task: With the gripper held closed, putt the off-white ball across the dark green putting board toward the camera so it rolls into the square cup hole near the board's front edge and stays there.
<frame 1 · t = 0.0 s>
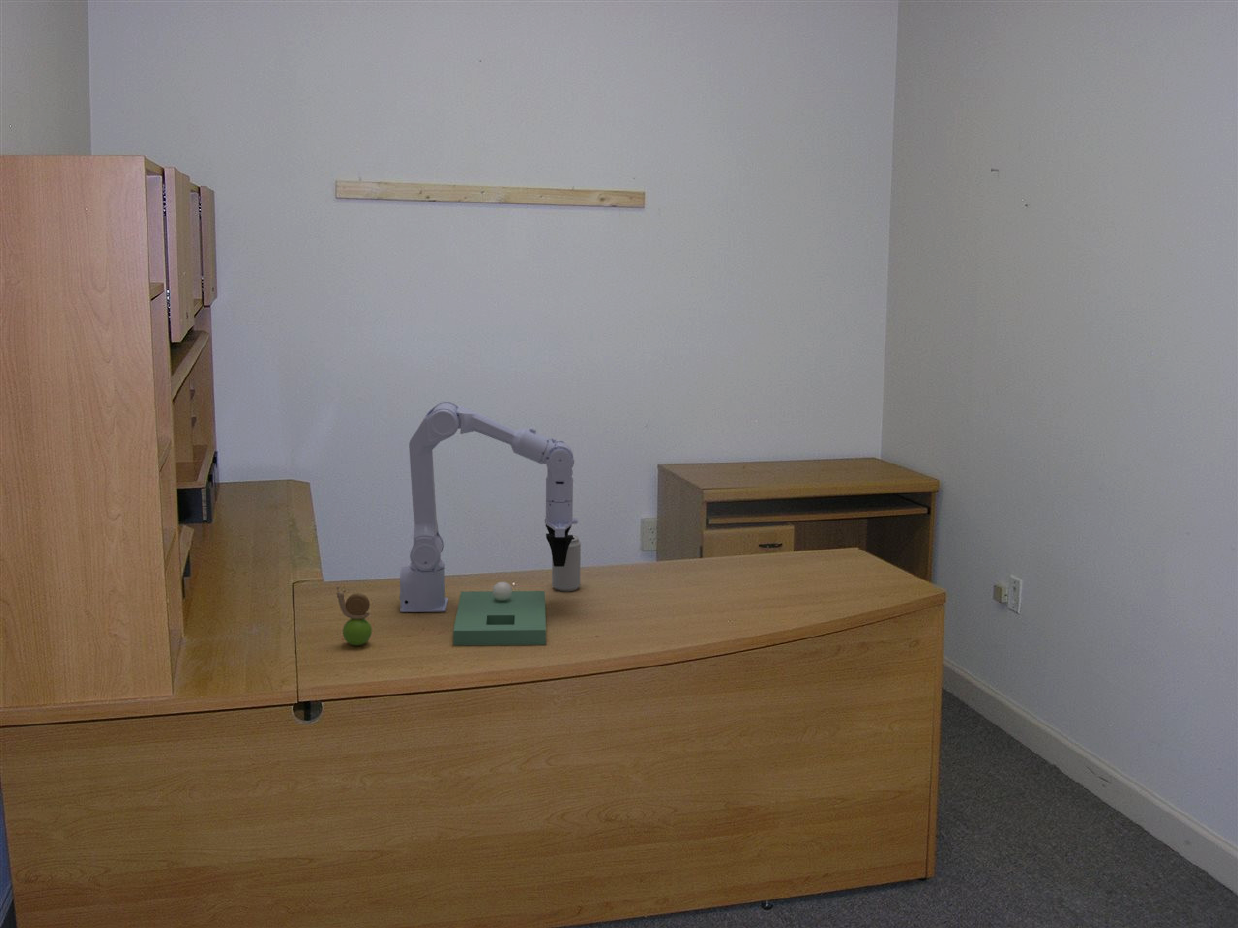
hand: (558, 560, 235), 10 cm above the table, tool pointing down, fingers open, 7 cm apart
snail figurine: (355, 645, 213), on the table
ball: (502, 591, 231), point 5 cm above the table, touching putting board
beverage can: (566, 588, 249), on the table
putting board: (501, 623, 226), on the table
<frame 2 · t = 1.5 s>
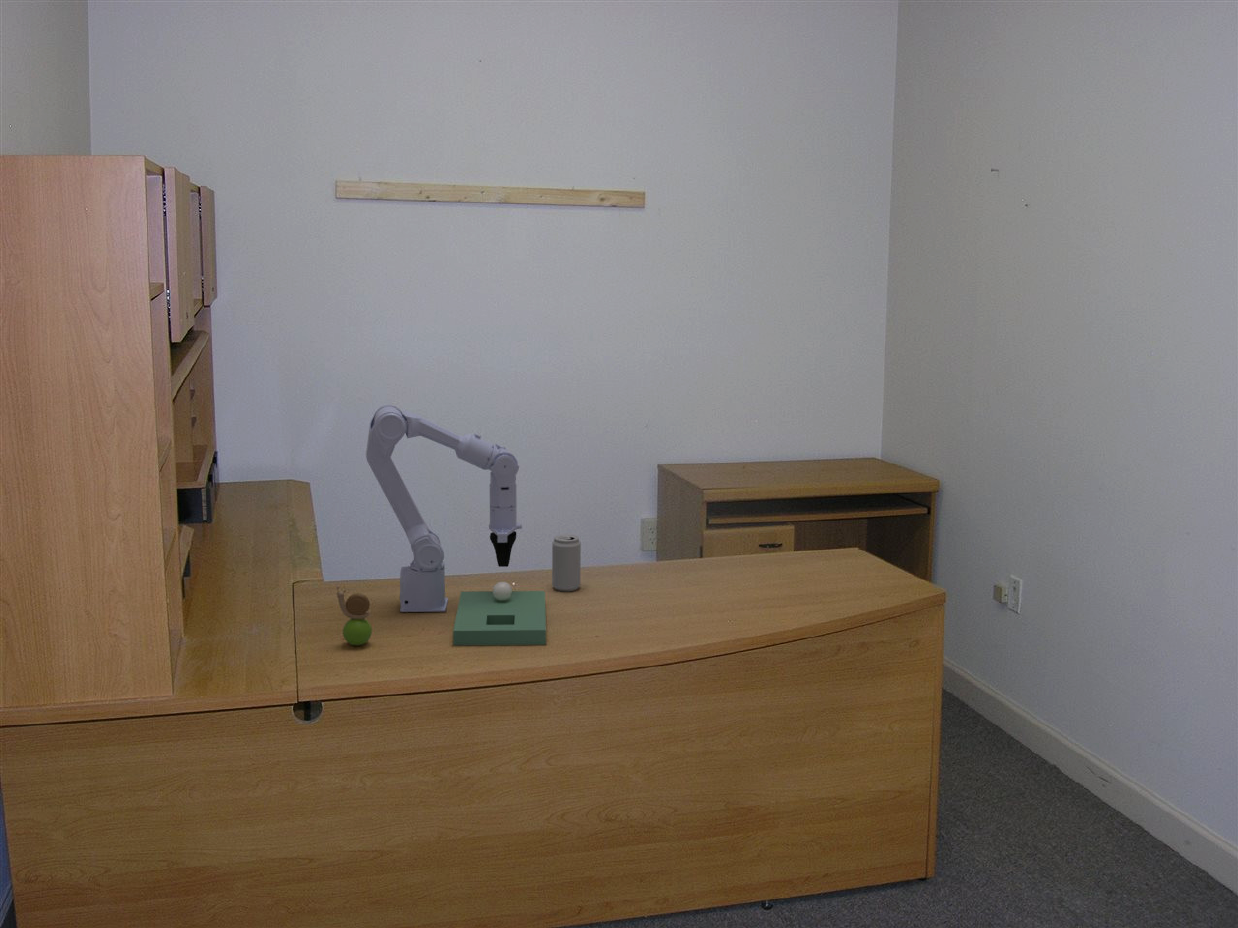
hand: (503, 565, 238), 8 cm above the table, tool pointing down, fingers closed
nothing on the table moved.
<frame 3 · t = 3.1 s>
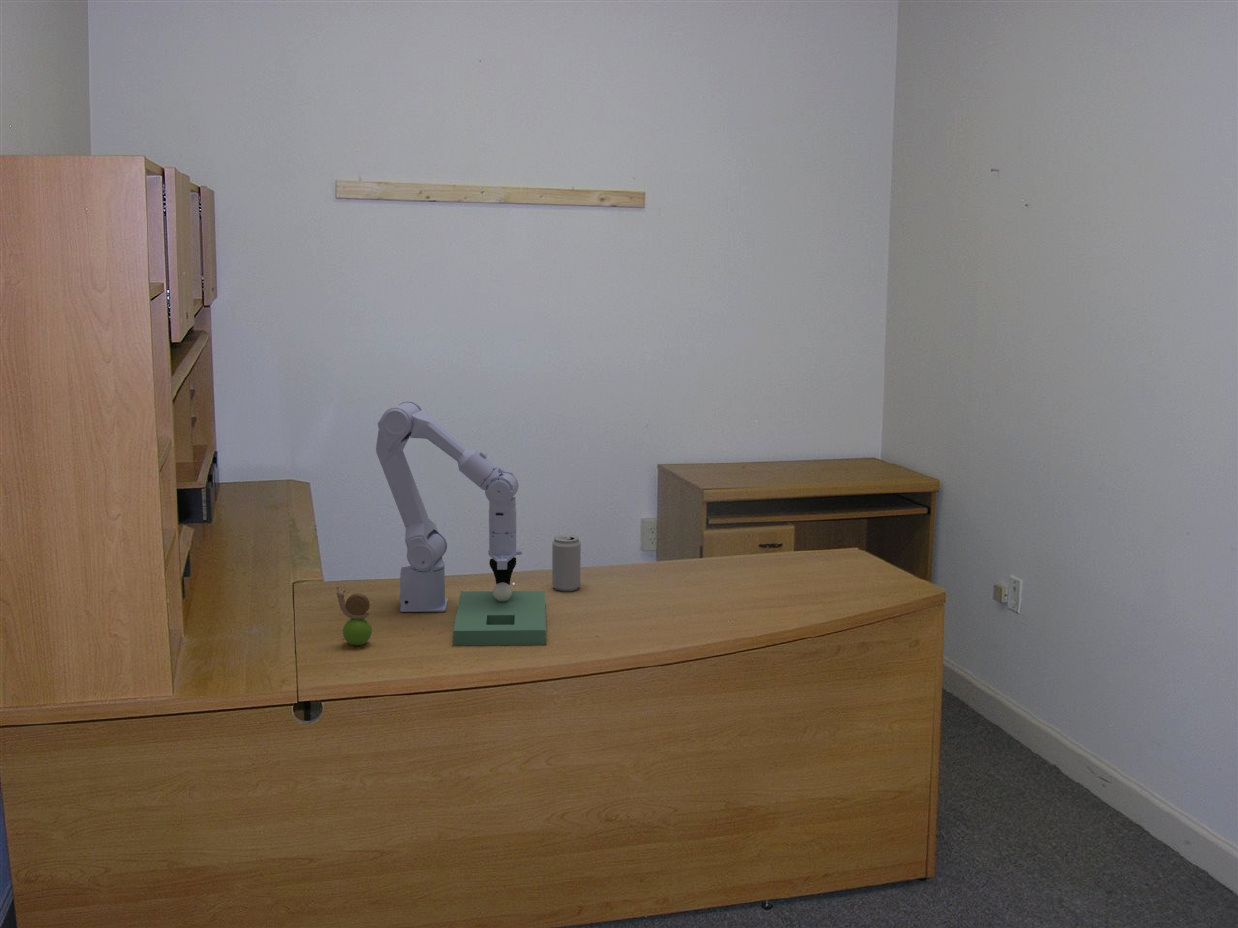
hand: (503, 592, 233), 4 cm above the table, tool pointing down, fingers closed, pressing on ball
ball: (502, 591, 230), point 5 cm above the table, tilted 9°, touching gripper, putting board
everything else where it was.
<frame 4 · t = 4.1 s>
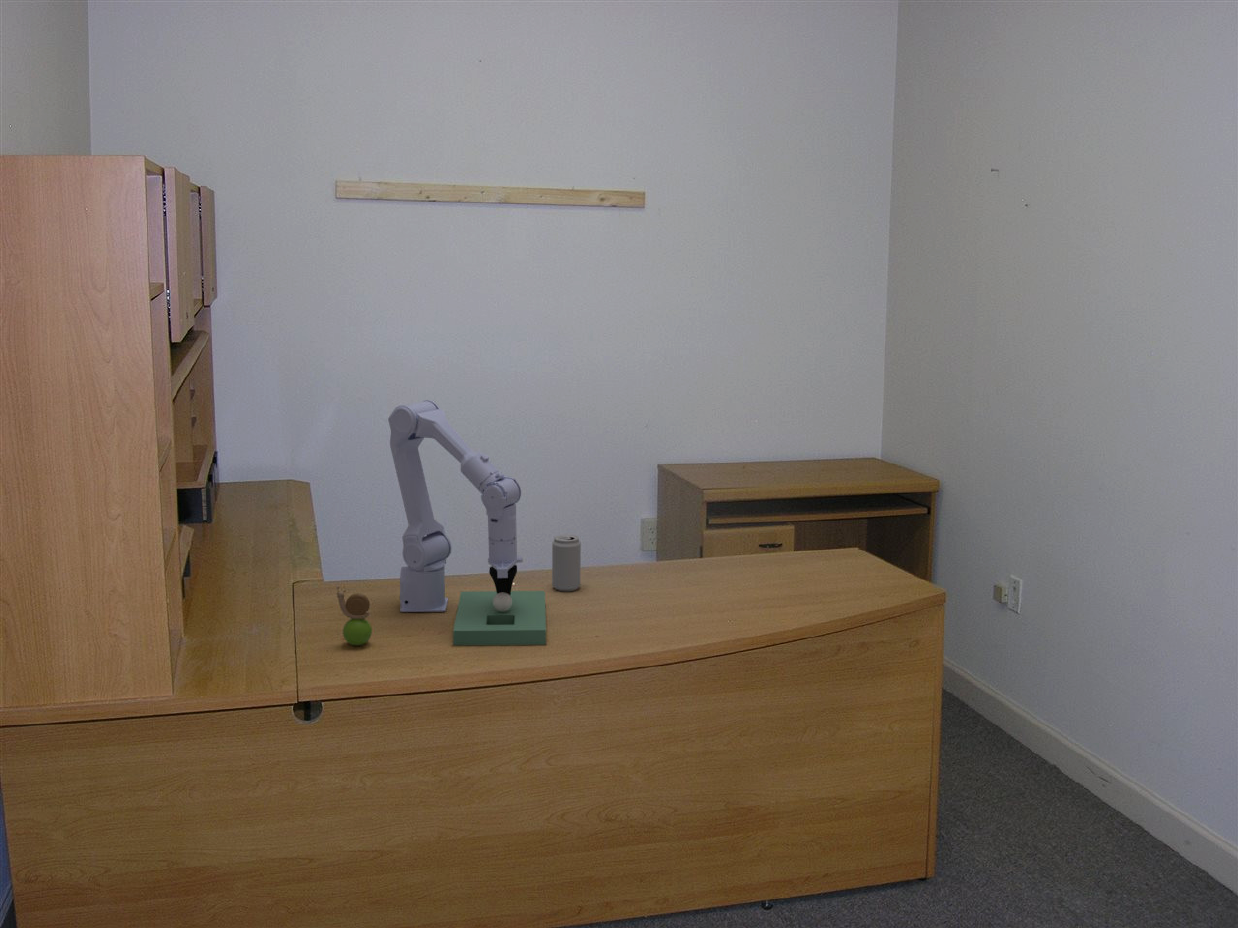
hand: (504, 601, 226), 5 cm above the table, tool pointing down, fingers closed, pressing on ball
ball: (502, 602, 224), point 5 cm above the table, tilted 161°, touching gripper, putting board
everything else where it was.
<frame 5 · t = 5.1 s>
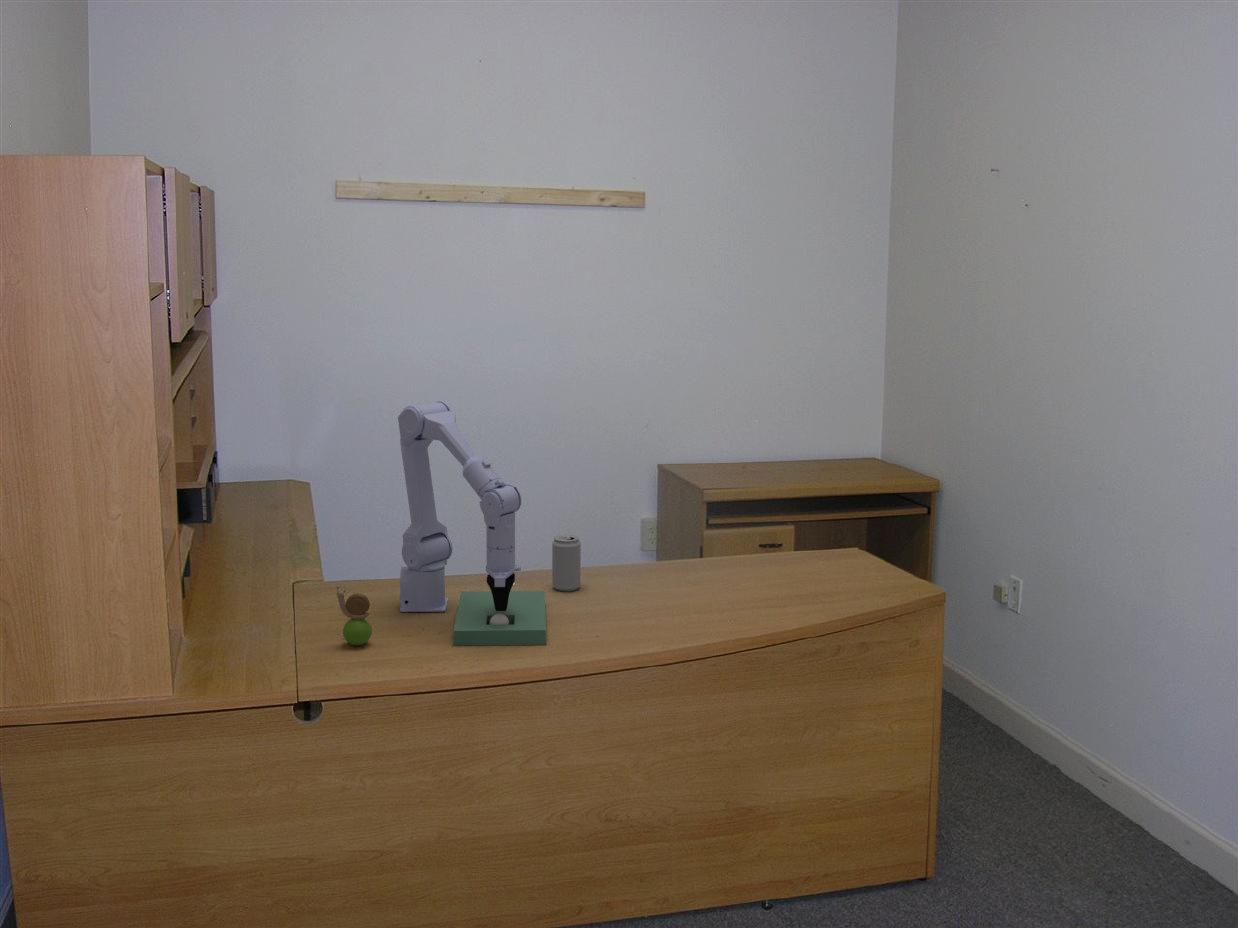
hand: (501, 610, 222), 4 cm above the table, tool pointing down, fingers closed
ball: (499, 623, 220), point 2 cm above the table, tilted 48°
everything else where it was.
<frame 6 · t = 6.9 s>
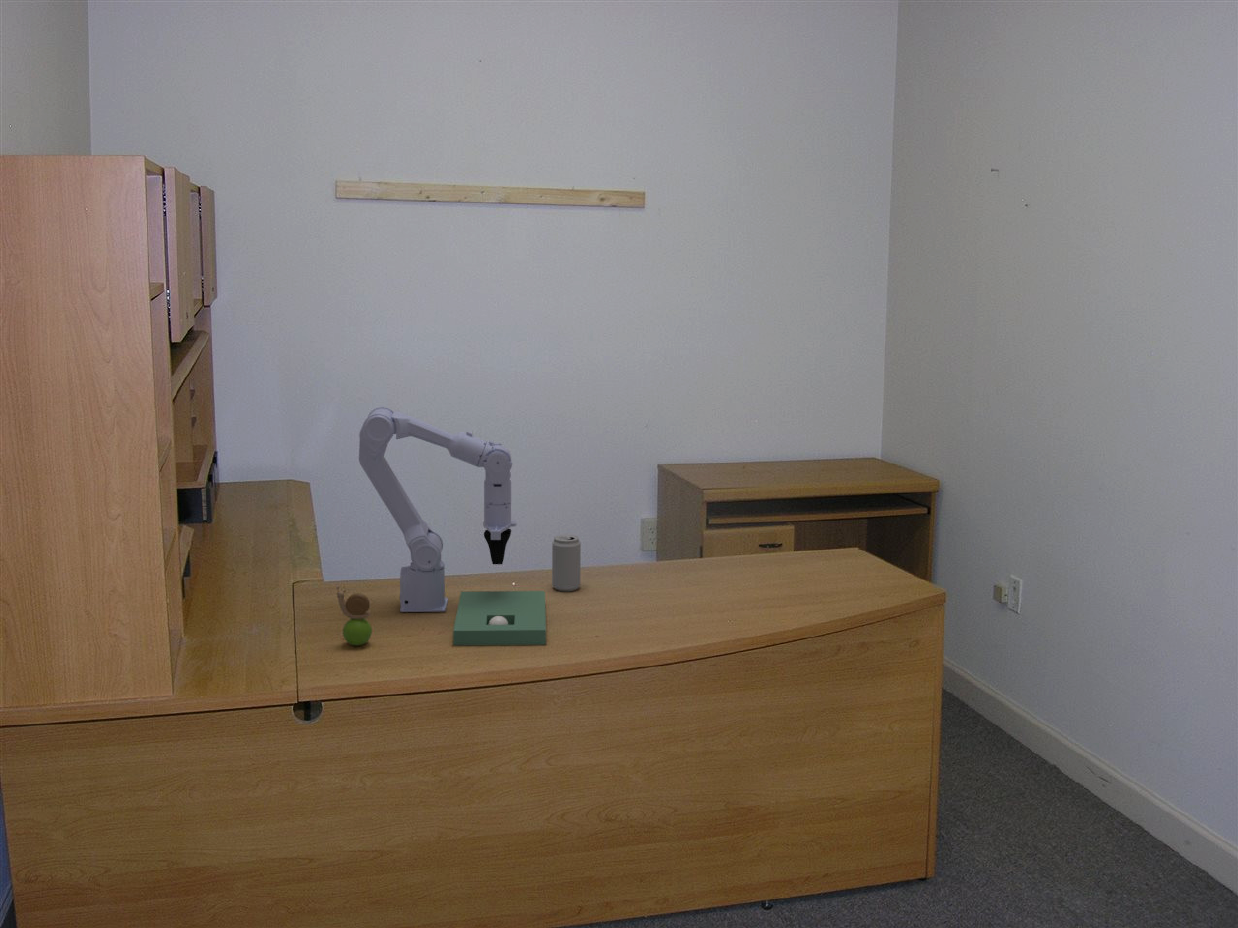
hand: (497, 563, 235), 9 cm above the table, tool pointing down, fingers closed
ball: (498, 625, 219), point 2 cm above the table, tilted 10°
everything else where it was.
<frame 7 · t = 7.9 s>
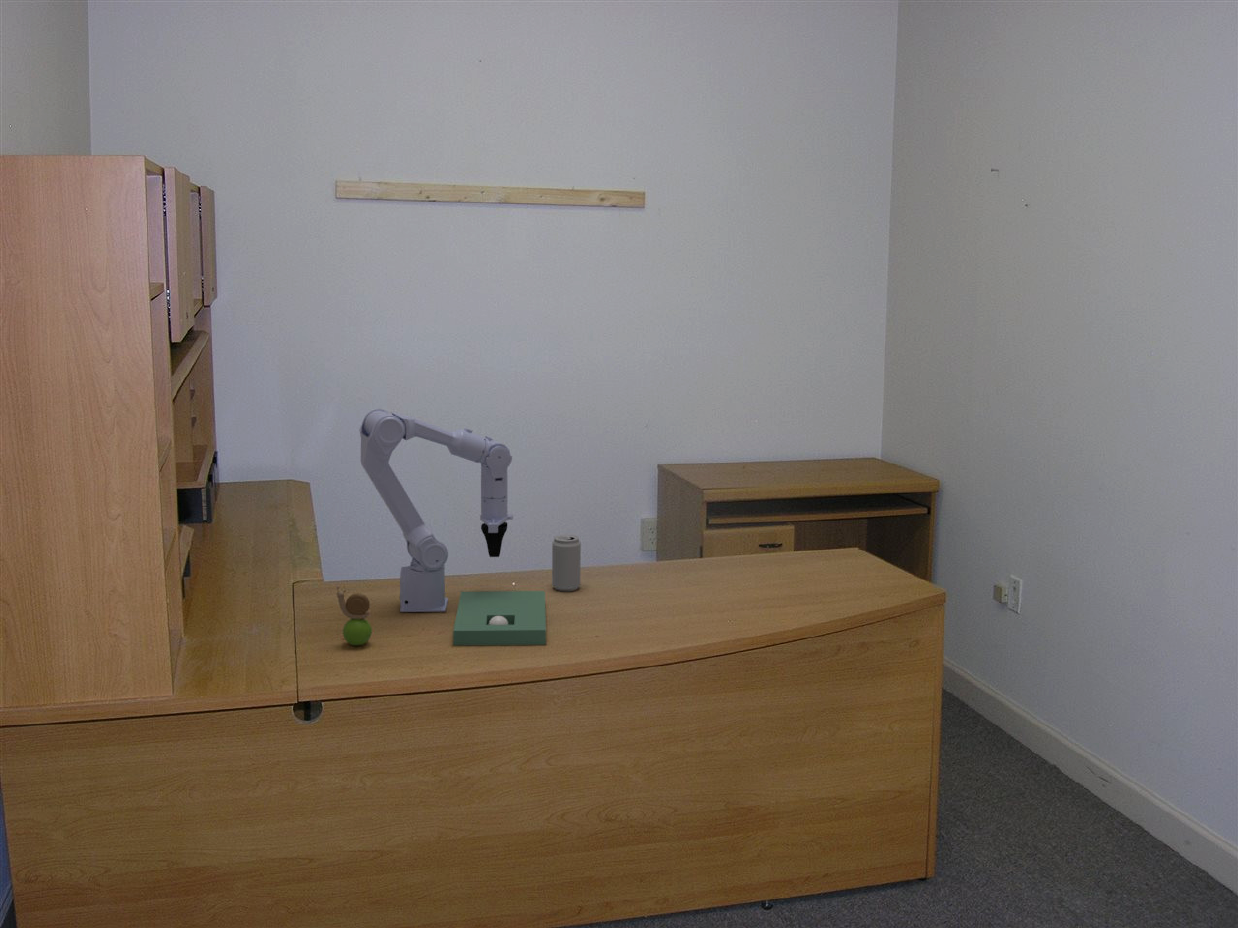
hand: (494, 556, 240), 9 cm above the table, tool pointing down, fingers closed
nothing on the table moved.
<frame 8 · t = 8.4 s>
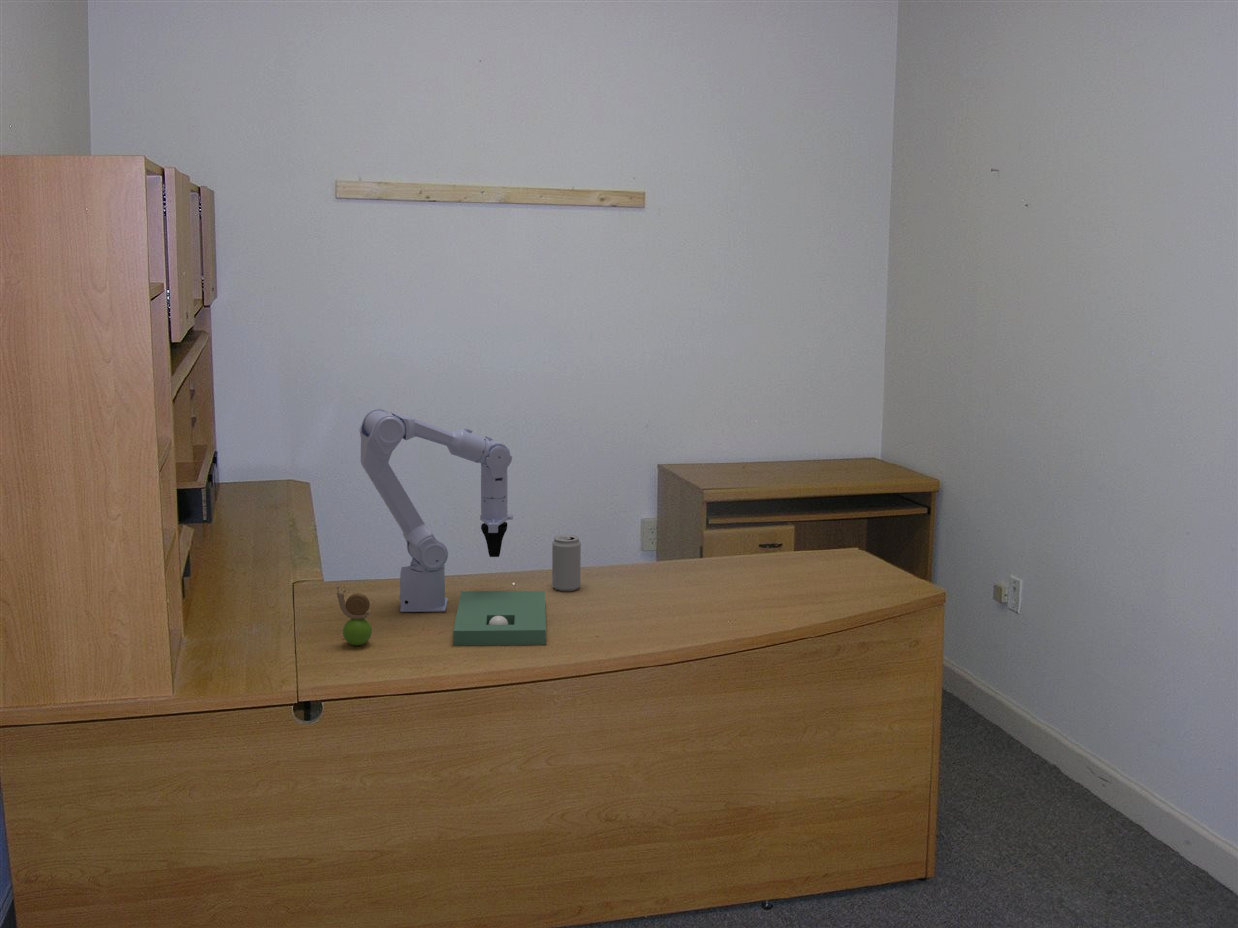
hand: (494, 556, 240), 9 cm above the table, tool pointing down, fingers closed
nothing on the table moved.
at the end: ball 0.7 cm from the target spot, point 2.0 cm above the table; ball moved 12.9 cm from its start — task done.
